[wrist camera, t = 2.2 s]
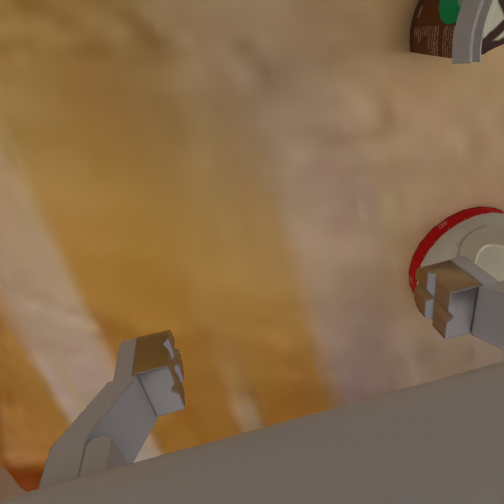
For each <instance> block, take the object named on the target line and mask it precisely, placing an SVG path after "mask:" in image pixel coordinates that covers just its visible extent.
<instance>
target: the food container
mask: <svg viewBox="0 0 504 504" xmlns="http://www.w3.org/2000/svg"><path fill="white" fill-rule="evenodd" d="M502 44H504V0H419V3H418V5H417V7H416V10H415V13H414V16H413V20H412V25H411V31H410V48H411V52H413V53H420V54H426V55H433V56H440V57H446V58H452V64H461V63H471V62H481V55H482V54H485V53H486V52H488V51H489V50H491V49H493V48H495V47H498V46H500V45H502Z"/></svg>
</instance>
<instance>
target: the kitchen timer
mask: <svg viewBox="0 0 504 504" xmlns="http://www.w3.org/2000/svg"><path fill="white" fill-rule="evenodd" d="M459 256H463V257H466V258H468V259H469V260H470V261H472V262H473V263H475V264H476V265H477V266H479V267H480V268H481V269H483V270H484V271H486V272H487V273H488V274H490V275H491V276H492V277H494V278H495V279H497V280H498V281H503V280H504V212H502V211H500V210H498V209H496V208H489V207H477V208H472V209H467V210H463V211H461V212H459V213H457V214H455V215H452V216H450V217H448V218H447V219H445V220H444V221H443V222H441V223H440V224H439V225H437V226H436V227H435V228H433V229H432V231H431V232H430V233H429V234H428V235H427V236H426V237H425V239H424V240H423V241H422V242H421V243H420V245H419V247H418V249H417V251H416V252H415V254H414V256H413V258H412V262H411V266H410V270H409V279H410V286H411V288H412V290H413V292H414V289H415V288H416V287H417V285H418V284H419V282H418V281H417V280H416V279H415V274H416V270H417V268H419V267H423V266H427V265H431V264H435V263H439V262H443V261H446V260H449V259H452V258H456V257H459Z"/></svg>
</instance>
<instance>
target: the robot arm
mask: <svg viewBox="0 0 504 504" xmlns="http://www.w3.org/2000/svg"><path fill="white" fill-rule="evenodd" d="M415 279H416V280H417V281H418V282H419V284H418V285H417V287H416V288H415V289H414V299H415V302H416V306H417V308H418V309H419V311H420V312H421V313H422V315H423V316H424V317H427V318H429V319H432V320H433V325H432V326H433V327H434V328H435V329H436V330H437V331H438V332H439V333H440V334H441V335H442V336H443V337H444V339H449V338H453V337H457V336H461V335H465V334H470V333H471V335H473V336H475V337H477V338H479V339H481V340H483V341H486V342H488V343H490V344H492V345H494V346H496V347H498V348H500V349H502V350H504V280H503V281H498V280H497V279H495V278H494V277H492V276H491V275H490V274H488V273H487V272H486V271H484V270H483V269H481V268H480V267H479V266H477V265H476V264H475V263H473V262H472V261H470V260H469V259H468V258H466V257H463V256H459V257H456V258H452V259H449V260H446V261H443V262H439V263H435V264H431V265H427V266H423V267H419V268H417V270H416V274H415ZM183 380H184V371H183V365H182V360H181V356H180V353H179V350H178V349H176V348H175V343H174V337H173V335H172V332H171V331H170V330H167V331H163V332H159V333H154V334H150V335H145V336H141V337H138V338H133V339H129V340H125V341H122V342H121V344H120V346H119V352H118V357H117V363H116V368H115V374H114V380H113V381H111V382H108V383H107V385H106V386H105V387H104V388H103V389H102V390H101V391H100V393H99V394H98V395H97V396H96V397H95V398H94V399H93V400H92V402H91V403H90V404H89V405H88V406H87V407H86V408H85V410H84V411H83V412H82V413H81V414H80V415H79V416H78V418H77V419H76V420H75V421H74V422H73V423H72V424H71V426H70V427H69V428H68V429H67V430H66V431H65V432H64V434H63V435H62V436H61V437H60V438H59V439H58V440H57V442H56V443H55V444H54V445H53V446H52V447H51V448H50V452H49V455H48V458H47V461H46V465H45V468H44V471H43V474H42V478H41V481H40V484H39V487H38V489H37V490H34V491H30V492H26V493H23V494H19V495H15V496H12V497H8V498H5V499H1V500H0V504H504V361H503V362H499V363H496V364H492V365H489V366H485V367H481V368H478V369H474V370H471V371H467V372H463V373H460V374H456V375H452V376H449V377H445V378H441V379H438V380H434V381H430V382H427V383H423V384H419V385H416V386H412V387H408V388H405V389H401V390H397V391H394V392H390V393H386V394H383V395H379V396H375V397H372V398H368V399H365V400H361V401H357V402H354V403H350V404H346V405H343V406H339V407H336V408H332V409H328V410H325V411H321V412H317V413H314V414H310V415H307V416H303V417H299V418H296V419H292V420H288V421H285V422H281V423H277V424H274V425H270V426H267V427H263V428H259V429H256V430H252V431H248V432H245V433H241V434H237V435H234V436H230V437H227V438H223V439H219V440H216V441H212V442H208V443H205V444H201V445H197V446H194V447H190V448H187V449H183V450H179V451H176V452H172V453H168V454H165V455H161V456H157V457H154V458H150V459H147V460H143V461H139V462H136V463H133V462H134V460H135V458H136V456H137V455H138V453H139V451H140V449H141V447H142V445H143V444H144V442H145V440H146V438H147V436H148V435H149V433H150V431H151V429H152V427H153V426H154V424H155V422H156V420H157V417H159V416H162V415H166V414H169V413H172V412H176V411H179V410H182V409H185V398H184V389H183V386H182V381H183Z"/></svg>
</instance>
